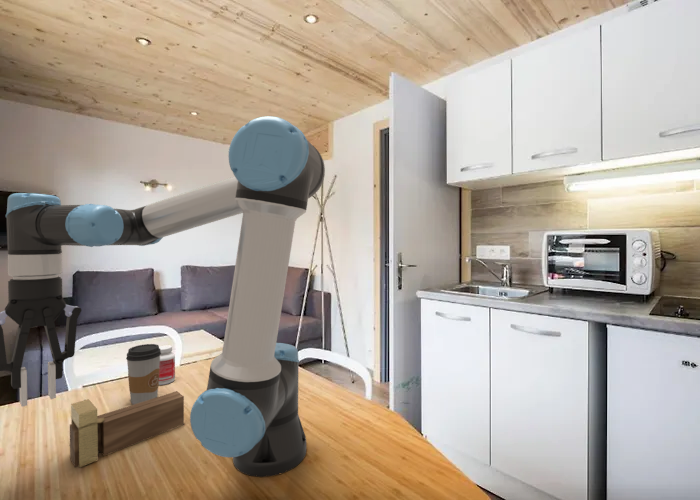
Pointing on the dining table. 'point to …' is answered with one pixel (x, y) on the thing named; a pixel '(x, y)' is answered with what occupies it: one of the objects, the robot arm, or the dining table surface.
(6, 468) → the dining table surface
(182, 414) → the tong arm
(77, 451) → the base
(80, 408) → the lock collar
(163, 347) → the pill bottle
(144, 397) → the coffee cup
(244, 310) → the robot arm
